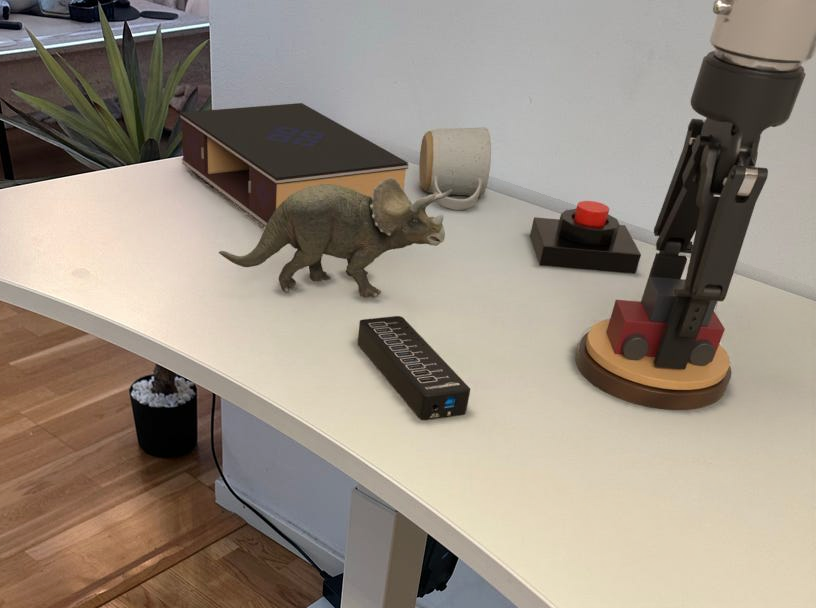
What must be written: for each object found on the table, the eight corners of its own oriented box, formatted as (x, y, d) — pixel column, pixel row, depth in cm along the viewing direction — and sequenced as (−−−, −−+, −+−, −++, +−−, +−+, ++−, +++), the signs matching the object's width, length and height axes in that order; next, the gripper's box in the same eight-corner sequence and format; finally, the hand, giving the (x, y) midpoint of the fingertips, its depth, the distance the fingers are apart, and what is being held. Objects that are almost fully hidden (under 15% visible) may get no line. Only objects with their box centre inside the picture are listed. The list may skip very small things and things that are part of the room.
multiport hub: (398, 337, 87) (401, 314, 85) (467, 414, 77) (472, 389, 76) (355, 342, 85) (358, 319, 84) (421, 421, 76) (425, 396, 74)
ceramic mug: (414, 181, 120) (422, 116, 115) (474, 183, 121) (485, 120, 115) (426, 211, 113) (435, 144, 107) (490, 214, 113) (503, 147, 108)
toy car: (706, 329, 89) (730, 264, 85) (744, 395, 80) (774, 326, 76) (575, 318, 89) (593, 252, 85) (598, 383, 80) (620, 313, 75)
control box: (620, 244, 109) (630, 209, 106) (635, 274, 103) (646, 238, 100) (529, 236, 109) (537, 200, 106) (539, 265, 102) (547, 229, 100)
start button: (602, 218, 105) (606, 202, 103) (607, 229, 102) (612, 213, 101) (571, 215, 104) (575, 199, 103) (576, 226, 102) (580, 210, 101)
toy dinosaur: (217, 295, 91) (215, 174, 83) (225, 261, 97) (224, 146, 89) (436, 311, 92) (454, 194, 84) (430, 277, 98) (447, 165, 90)
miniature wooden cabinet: (274, 241, 102) (276, 177, 97) (181, 170, 116) (179, 112, 112) (401, 222, 109) (408, 162, 104) (299, 157, 124) (301, 102, 119)
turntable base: (703, 343, 91) (709, 329, 90) (744, 415, 81) (751, 400, 80) (565, 331, 90) (569, 317, 89) (589, 402, 80) (593, 387, 79)
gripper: (675, 24, 75) (599, 294, 91) (747, 87, 60) (642, 396, 76) (764, 32, 75) (673, 301, 91) (858, 97, 61) (729, 404, 77)
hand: (659, 344), depth 84 cm, fingers open, 8 cm apart
